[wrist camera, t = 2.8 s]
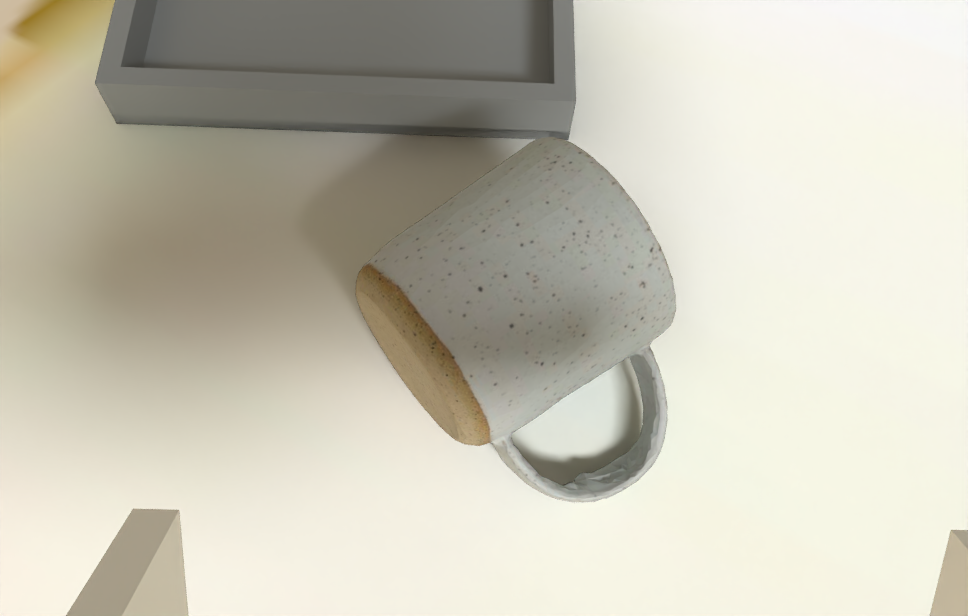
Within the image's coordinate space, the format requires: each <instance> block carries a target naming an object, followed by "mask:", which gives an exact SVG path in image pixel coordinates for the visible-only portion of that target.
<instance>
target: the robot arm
mask: <svg viewBox="0 0 968 616" xmlns="http://www.w3.org/2000/svg"><path fill="white" fill-rule="evenodd" d="M66 616H188V606H187V594H186V583H185V571H184V560H183V548H182V537H181V525H180V513H179V510H159V509H133V510H132V511H131V513H130V515H129V516H128V518H127V519H126V521H125V523H124V524H123V526H122V527H121V529H120V531H119V532H118V534H117V535H116V537H115V539H114V540H113V542H112V543H111V545H110V546H109V548H108V550H107V551H106V553H105V554H104V556H103V558H102V559H101V561H100V562H99V564H98V566H97V567H96V569H95V570H94V572H93V574H92V575H91V577H90V578H89V580H88V582H87V583H86V585H85V586H84V588H83V590H82V591H81V593H80V594H79V596H78V597H77V599H76V601H75V602H74V604H73V605H72V607H71V609H70V610H69V612H68V613H67V615H66ZM930 616H968V530H951V532H950V536H949V540H948V544H947V548H946V552H945V556H944V560H943V564H942V568H941V572H940V576H939V580H938V584H937V588H936V592H935V596H934V601H933V605H932V609H931V613H930Z"/></svg>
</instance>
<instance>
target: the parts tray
mask: <svg viewBox="0 0 968 616" xmlns="http://www.w3.org/2000/svg"><path fill="white" fill-rule="evenodd" d="M95 84H96V86H97V88H98V90H99V92H100V94H101V95H102V97H103V99H104V101H105V103H106V105H107V106H108V108H109V110H110V112H111V114H112V116H113V118H114V119H115V121H116V123H119V124H146V125H172V126H199V127H226V128H253V129H279V130H306V131H333V132H360V133H386V134H413V135H440V136H467V137H493V138H520V139H540V138H545V137H555V138H560V139H564V140H568V138H569V133H570V128H571V123H572V118H573V113H574V109H575V104H576V87H575V50H574V13H573V0H115V3H114V7H113V11H112V15H111V19H110V23H109V28H108V32H107V36H106V40H105V44H104V48H103V52H102V56H101V60H100V64H99V68H98V72H97V76H96V81H95Z"/></svg>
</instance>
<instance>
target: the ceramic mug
mask: <svg viewBox="0 0 968 616" xmlns="http://www.w3.org/2000/svg"><path fill="white" fill-rule="evenodd" d="M356 298H357V301H358V304H359V307H360V309H361V312H362V314H363V316H364V318H365V320H366V322H367V324H368V326H369V327H370V329H371V331H372V333H373V335H374V336H375V338H376V340H377V341H378V343H379V345H380V346H381V348H382V350H383V351H384V353H385V354H386V356H387V357H388V359H389V361H390V362H391V364H392V365H393V367H394V368H395V370H396V371H397V373H398V374H399V376H400V377H401V379H402V380H403V381H404V383H405V384H406V385H407V387H408V388H409V389H410V391H411V392H412V393H413V395H414V396H415V397H416V399H417V400H418V401H419V403H420V404H421V405H422V406H423V407H424V409H425V410H426V411H427V412H428V413H429V414H430V416H431V417H432V418H433V419H434V420H435V421H436V423H437V424H438V425H439V426H440V427H441V428H442V429H443V430H444V431H445V432H446V433H447V434H449V435H450V436H451V437H452V438H453V439H455V440H456V441H459V442H461V443H464V444H468V445H476V446H480V445H484V444H487V443H490V442H491V443H493V445H494V447H495V449H496V450H497V452H498V453H499V455H500V458H501V459H502V460H503V461H504V463H505V464H506V465H507V466H508V467H509V468H510V469H511V470H512V471H513V472H514V473H515V474H516V475H518V476H519V477H520V478H521V479H522V480H523V481H524V482H525V483H526V484H528V485H529V486H531V487H532V488H534V489H536V490H538V491H540V492H541V493H543V494H545V495H547V496H550V497H552V498H555V499H559V500H564V501H569V502H595V501H598V500H600V499H603V498H608V497H610V496H613V495H615V494H617V493H619V492H621V491H622V490H624V489H626V488H627V487H629V486H630V485H632V484H634V483H635V482H637V481H638V480H639V479H640V478H641V477H642V476H643V475H644V474H645V473H646V472H647V471H648V470H649V469H650V468H651V467H652V465H653V464H654V463H655V461H656V459H657V457H658V455H659V453H660V451H661V448H662V445H663V442H664V438H665V432H666V426H667V401H666V394H665V388H664V384H663V380H662V377H661V374H660V370H659V367H658V364H657V363H656V361H655V358H654V354H653V352H652V350H651V349H650V346H649V345H650V344H651V342H652V341H653V340H654V339H655V338H656V337H658V336H659V335H661V334H662V333H663V332H664V331H665V330H666V329H667V328H669V327H670V326H671V324H672V322H673V319H674V315H675V312H676V302H675V291H674V285H673V278H672V276H671V274H670V271H669V267H668V264H667V262H666V259H665V256H664V254H663V252H662V250H661V247H660V245H659V243H658V241H657V240H656V238H655V236H654V235H653V233H652V231H651V229H650V227H649V225H648V223H647V221H646V220H645V218H644V217H643V215H642V213H641V212H640V210H639V209H638V207H637V206H636V204H635V203H634V201H633V200H632V199H631V198H630V197H629V195H628V194H627V193H626V191H625V190H624V189H623V188H622V186H621V185H620V184H619V183H618V181H617V180H616V179H615V178H614V177H613V176H612V175H611V174H610V173H609V172H608V171H607V170H606V169H605V168H604V167H603V166H602V165H600V164H599V163H598V162H597V161H596V160H595V159H594V158H593V157H591V156H590V155H589V154H588V153H586V152H585V151H583V150H582V149H580V148H579V147H577V146H576V145H574V144H573V143H570V142H568V141H566V140H564V139H560V138H555V137H545V138H540V139H537V140H535V141H533V142H531V143H529V144H528V145H526V146H525V147H524V148H522V149H521V150H520V151H518V152H517V153H515V154H514V155H512V156H511V157H510V158H508V159H507V160H506V161H504V162H503V163H502V164H500V165H499V166H497V167H495V168H494V169H493V170H491V171H490V172H488V173H487V174H485V175H484V176H483V177H481V178H480V179H478V180H477V181H475V182H474V183H473V184H471V185H470V186H469V187H467V188H466V189H464V190H463V191H461V192H460V193H458V194H457V195H455V196H454V197H452V198H451V199H450V200H449V201H447V202H446V203H444V204H443V205H441V206H440V207H439V208H437V209H436V210H434V211H433V212H432V213H430V214H429V215H427V216H426V217H424V218H423V219H421V220H420V221H418V222H417V223H415V224H414V225H412V226H411V227H409V228H408V229H406V230H405V231H403V232H402V233H401V234H399V235H398V236H396V237H395V238H393V239H392V240H391V241H390V242H388V243H387V244H386V245H385V246H384V247H383V248H382V249H381V250H380V251H379V252H378V253H377V254H376V255H375V256H374V257H373V258H372V259H371V260H369V261H368V262H367V263H366V264H365V265H364V266H363V268H362V269H361V271H360V272H359V274H358V277H357V281H356ZM627 357H629V358H630V360H631V363H632V365H633V368H634V370H635V373H636V376H637V379H638V382H639V386H640V391H641V397H642V402H643V425H642V429H641V433H640V436H639V438H638V440H637V442H636V443H635V444H633V446H632V448H631V450H630V451H629V452H627V453H626V454H624V455H622V456H620V457H619V458H617V459H616V460H614V461H612V462H611V463H609V464H608V465H606V466H605V467H603V468H601V469H598V470H596V471H594V472H592V473H590V474H589V473H580V474H579V475H578V476H577V477H576V478H575V480H574V482H570V483H567V484H566V485H560V484H558V483H556V482H553V481H551V480H549V479H548V478H545V477H542V476H540V475H539V474H538V472H537V471H536V470H535V469H534V468H533V467H532V466H531V465H530V464H529V463H528V462H527V461H526V460H525V459H524V457H523V456H522V455H521V454H520V452H519V450H518V449H517V447H516V446H515V445H514V444H513V441H512V438H511V435H512V433H513V432H515V431H516V430H518V429H519V428H521V427H523V426H524V425H526V424H527V423H529V422H530V421H532V420H533V419H535V418H536V417H538V416H539V415H541V414H542V413H544V412H545V411H546V410H548V409H549V408H550V407H552V406H553V405H554V404H556V403H557V402H558V401H560V400H561V399H563V398H564V397H566V396H567V395H569V394H570V393H572V392H574V391H575V390H577V389H578V388H580V387H581V386H583V385H585V384H587V383H589V382H590V381H591V380H593V379H594V378H596V377H597V376H599V375H600V374H602V373H603V372H605V371H607V370H609V369H610V368H612V367H613V366H614V365H616V364H618V363H620V362H621V361H623V360H624V359H625V358H627Z"/></svg>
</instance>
